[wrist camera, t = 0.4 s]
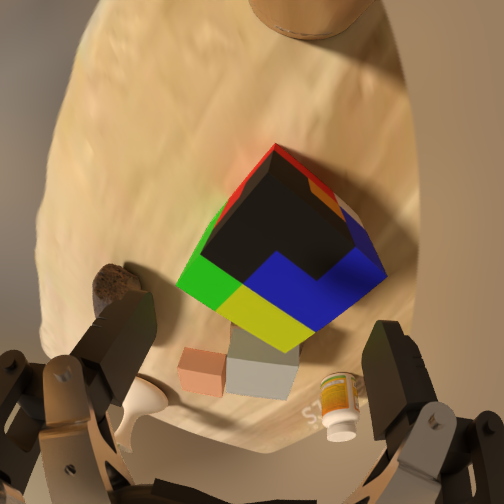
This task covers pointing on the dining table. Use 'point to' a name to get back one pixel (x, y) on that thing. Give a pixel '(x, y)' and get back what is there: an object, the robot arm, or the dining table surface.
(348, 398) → the supplement bottle
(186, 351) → the clay block
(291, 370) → the tower top
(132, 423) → the flower in vase
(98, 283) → the perforated stone tool
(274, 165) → the puzzle toy
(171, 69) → the dining table surface
